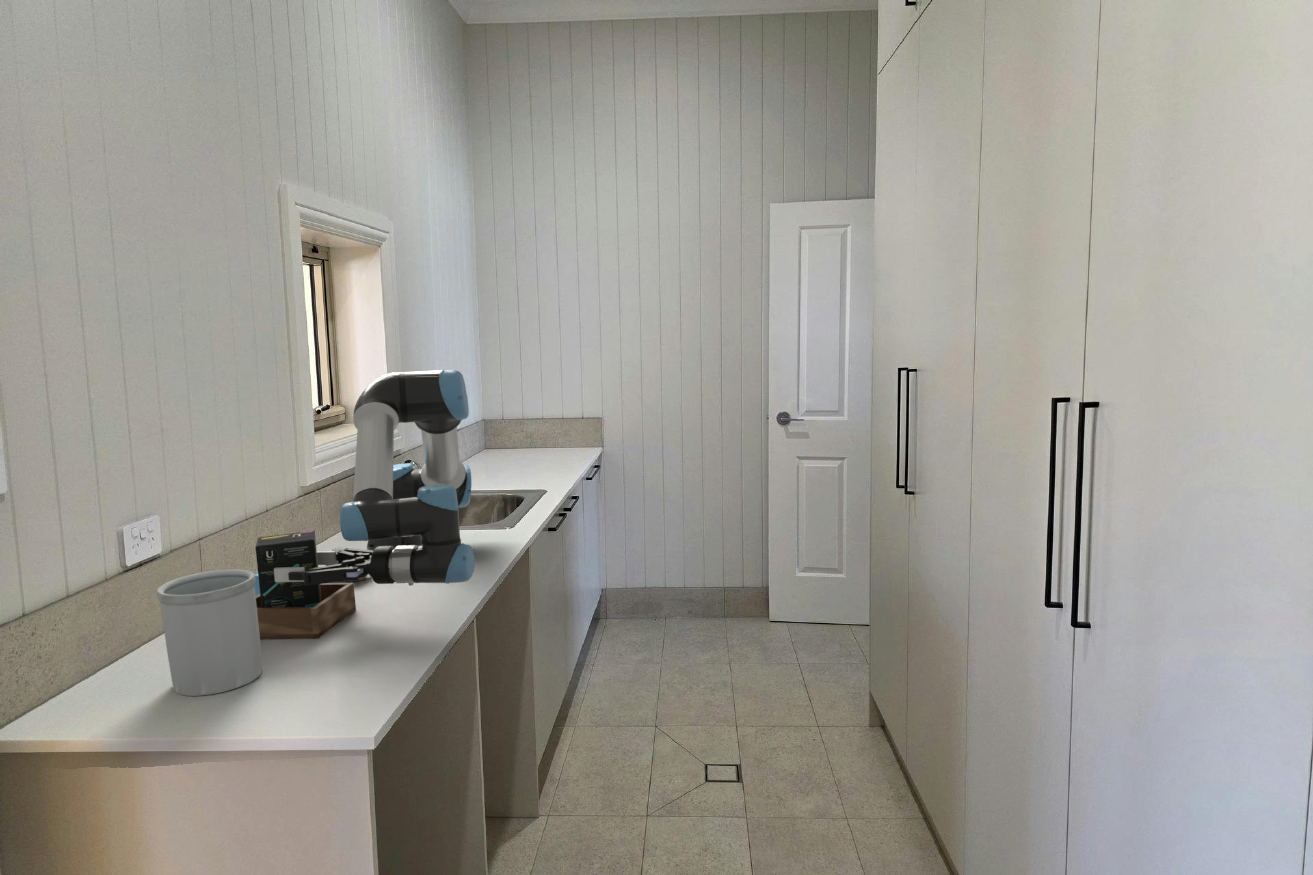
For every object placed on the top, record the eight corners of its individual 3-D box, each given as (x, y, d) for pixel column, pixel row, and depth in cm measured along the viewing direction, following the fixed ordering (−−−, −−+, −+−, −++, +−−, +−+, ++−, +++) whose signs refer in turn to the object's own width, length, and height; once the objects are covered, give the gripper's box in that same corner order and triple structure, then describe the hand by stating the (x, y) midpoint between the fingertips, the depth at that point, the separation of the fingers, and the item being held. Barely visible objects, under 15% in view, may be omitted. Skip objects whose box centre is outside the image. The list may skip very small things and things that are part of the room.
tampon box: (321, 597, 179) (315, 529, 177) (321, 610, 171) (315, 538, 169) (264, 605, 175) (257, 535, 173) (261, 618, 167) (254, 545, 165)
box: (279, 610, 183) (276, 583, 182) (356, 610, 182) (353, 582, 181) (234, 639, 166) (231, 609, 165) (318, 638, 165) (315, 608, 164)
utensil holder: (162, 705, 137) (150, 599, 134) (173, 673, 150) (162, 576, 148) (263, 687, 142) (253, 585, 140) (265, 657, 156) (256, 564, 154)
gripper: (372, 601, 159) (261, 602, 161) (418, 566, 183) (320, 568, 185) (369, 562, 158) (257, 564, 160) (415, 532, 182) (317, 534, 184)
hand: (290, 566), depth 172 cm, fingers closed on tampon box, 11 cm apart
